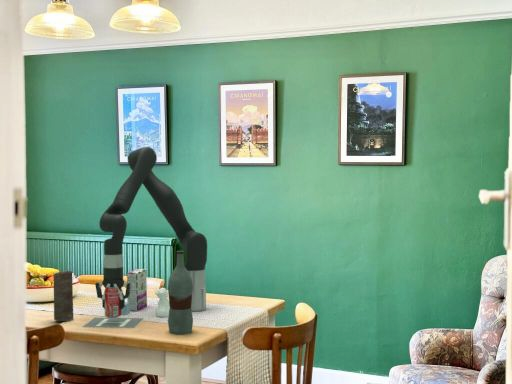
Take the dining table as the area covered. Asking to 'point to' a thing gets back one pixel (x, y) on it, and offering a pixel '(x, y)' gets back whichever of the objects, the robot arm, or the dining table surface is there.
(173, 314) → the bottle
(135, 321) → the letter board
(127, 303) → the blue block
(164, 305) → the seated beast figurine
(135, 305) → the candy bar box
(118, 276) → the robot arm
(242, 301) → the dining table surface
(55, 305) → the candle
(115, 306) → the soda can
